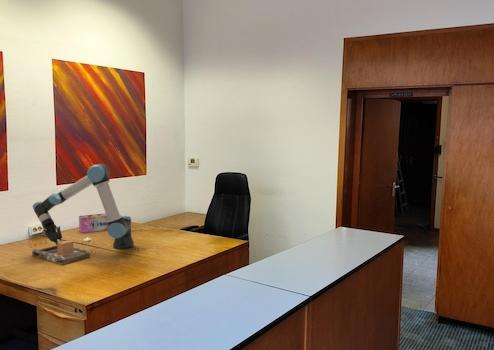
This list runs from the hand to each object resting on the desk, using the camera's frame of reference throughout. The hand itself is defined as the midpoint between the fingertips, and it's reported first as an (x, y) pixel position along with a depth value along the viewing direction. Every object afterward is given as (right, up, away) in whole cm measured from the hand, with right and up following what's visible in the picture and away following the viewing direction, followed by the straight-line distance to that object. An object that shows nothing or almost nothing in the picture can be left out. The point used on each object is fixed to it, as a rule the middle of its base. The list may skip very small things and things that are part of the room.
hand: (61, 248), depth 295 cm
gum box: (-6, +1, +78) cm, 78 cm away
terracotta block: (+4, -3, -2) cm, 5 cm away
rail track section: (-1, -6, +1) cm, 6 cm away
